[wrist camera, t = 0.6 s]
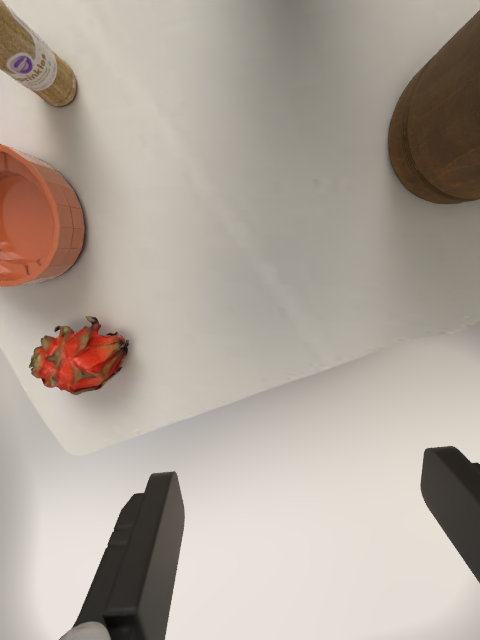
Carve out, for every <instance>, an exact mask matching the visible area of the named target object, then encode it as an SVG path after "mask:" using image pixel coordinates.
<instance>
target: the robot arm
mask: <svg viewBox="0 0 480 640" xmlns="http://www.w3.org/2000/svg"><path fill="white" fill-rule="evenodd" d="M421 492H422V496H423V498H424V501H425V503H426V505H427V507H428V508H429V510H430V511H431V513H432V514H433V516H434V517H435V518H436V520H437V521H438V523H439V524H440V526H441V527H442V529H443V530H444V532H445V533H446V534H447V536H448V537H449V539H450V541H451V542H452V543H453V545H454V546H455V548H456V549H457V551H458V552H459V554H460V555H461V556H462V558H463V559H464V561H465V562H466V564H467V565H468V567H469V568H470V569H471V571H472V573H473V574H474V575H475V577H476V578H477V580H478V581H479V583H480V464H479V463H471V462H470V461H469V460H468V459H467V458H466V457H465V456H464V455H463V454H462V453H461V452H460V451H459V450H458V449H457V448H455V447H453V446H447V447H437V448H428V449H426V450H425V452H424V458H423V469H422V477H421ZM184 519H185V516H184V505H183V500H182V495H181V491H180V486H179V482H178V477H177V474H176V472H164V473H154V474H151V476H150V478H149V480H148V483H147V486H146V490H145V492H144V493H138V494H134V495H133V496H132V497H131V499H130V500H129V501H128V502H127V504H126V505H125V506H124V508H123V509H122V510H121V512H120V515H119V517H118V520H117V522H116V525H115V527H114V532H112V535H111V537H110V540H109V542H108V547H107V548H106V549H105V552H104V555H103V557H102V560H101V562H100V564H99V567H98V569H97V572H96V574H95V577H94V579H93V582H92V584H91V587H90V589H89V592H88V594H87V597H86V599H85V602H84V604H83V606H82V609H81V611H80V614H79V616H78V618H77V620H76V622H75V624H74V626H73V627H72V629H71V630H69V631H68V632H67V633H66V634H65V635H63V636H62V637H61V638H60V639H59V640H165V635H166V628H167V622H168V617H169V611H170V605H171V600H172V594H173V588H174V582H175V576H176V570H177V564H178V559H179V553H180V547H181V541H182V536H183V530H184Z"/></svg>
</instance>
